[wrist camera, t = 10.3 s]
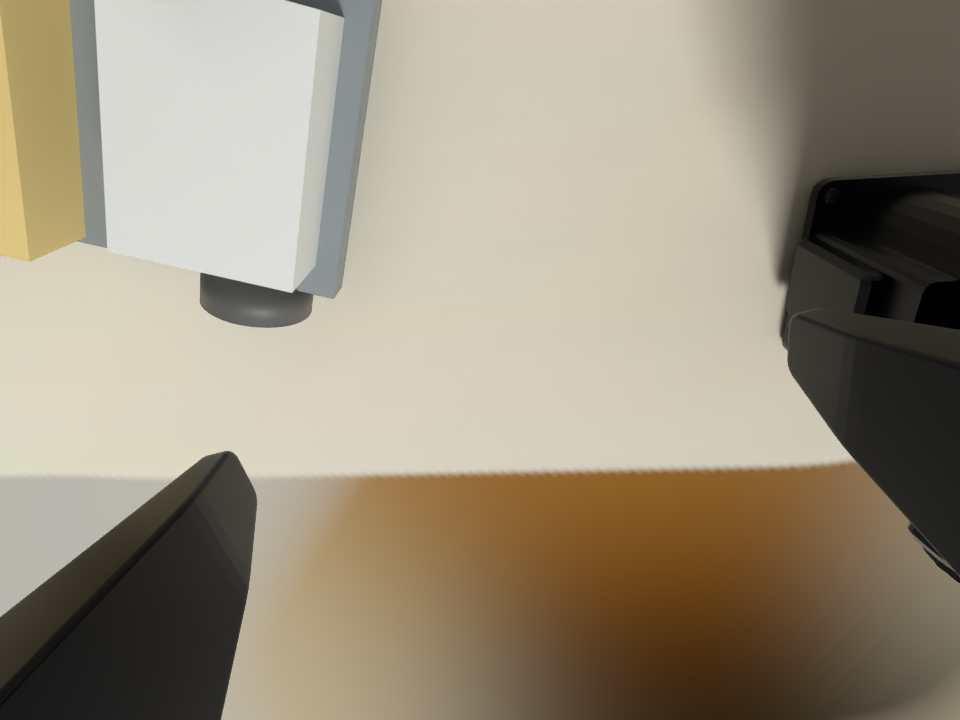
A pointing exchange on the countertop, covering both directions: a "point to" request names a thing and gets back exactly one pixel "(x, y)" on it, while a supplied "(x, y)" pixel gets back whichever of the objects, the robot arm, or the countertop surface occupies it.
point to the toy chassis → (189, 139)
